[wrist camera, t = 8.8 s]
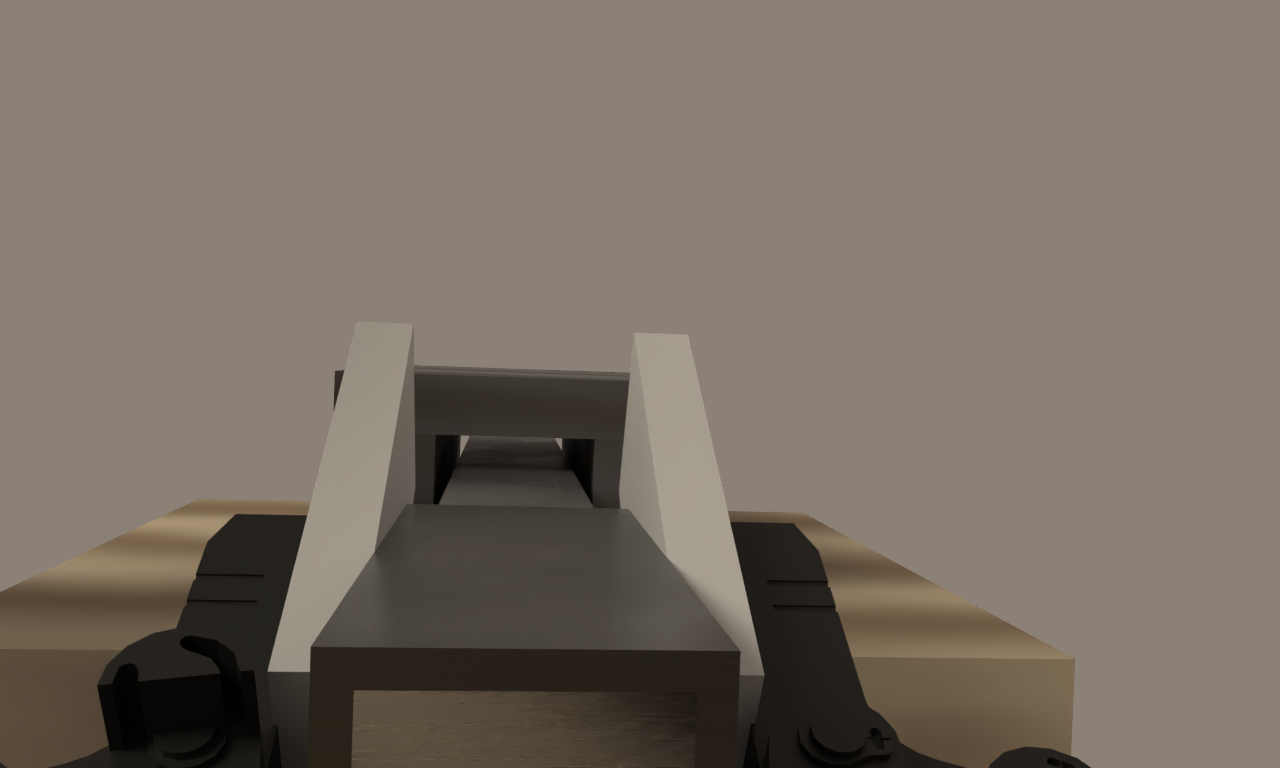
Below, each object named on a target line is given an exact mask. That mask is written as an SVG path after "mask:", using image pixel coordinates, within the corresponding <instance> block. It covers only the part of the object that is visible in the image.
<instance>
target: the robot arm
mask: <svg viewBox="0 0 1280 768" xmlns="http://www.w3.org/2000/svg"><path fill="white" fill-rule="evenodd" d="M414 493H415V406H414V326H413V324H399V323H374V322H357V324H356V328H355V331H354V335H353V339H352V343H351V347H350V351H349V355H348V359H347V363H346V367H345V370H344V374H343V378H342V382H341V386H340V390H339V394H338V398H337V402H336V406H335V410H334V414H333V418H332V421H331V425H330V429H329V433H328V437H327V441H326V445H325V449H324V453H323V457H322V460H321V464H320V468H319V472H318V476H317V480H316V484H315V488H314V492H313V496H312V500H311V503H310V507H309V511H308V515H268V514H235V515H234V516H233V517H232V518H231V519H230V520H229V521H228V522H227V523H226V524H225V525H224V526H223V527H222V528H221V529H220V530H219V531H218V532H217V533H216V534H215V535H214V536H212V537H211V538H210V539H209V540H208V541H207V544H206V547H205V549H204V552H203V555H202V558H201V561H200V563H199V566H198V569H197V572H196V579H195V580H193V583H192V586H191V588H190V591H189V594H188V597H187V603H186V606H184V608H183V611H182V613H181V616H180V619H179V622H178V624H177V627H176V628H175V629H170V630H165V631H161V632H156V633H153V634H151V635H148V636H146V637H144V638H142V639H140V640H138V641H136V642H134V643H132V644H130V645H128V646H126V647H125V648H124V649H123V650H122V651H121V652H120V653H119V654H118V655H117V656H115V657H114V658H113V659H112V660H111V661H110V662H109V663H108V664H107V665H106V667H105V669H104V671H103V673H102V676H101V678H100V680H99V682H98V684H97V689H98V694H99V699H100V704H101V709H102V714H103V719H104V724H105V729H106V734H107V739H108V744H109V745H108V746H106V747H104V748H102V749H100V750H98V751H96V752H94V753H93V754H91V755H89V756H86V757H83V758H80V759H77V760H74V761H71V762H68V763H65V764H61V765H57V766H52V767H48V768H307V748H308V715H309V683H310V651H311V645H312V644H313V642H314V641H315V639H316V638H317V637H318V635H319V634H320V632H321V631H322V629H323V628H324V626H325V625H326V623H327V622H328V620H329V619H330V617H331V616H332V614H333V613H334V611H335V610H336V608H337V607H338V605H339V604H340V602H341V601H342V599H343V598H344V596H345V595H346V593H347V592H348V590H349V589H350V587H351V586H352V584H353V583H354V581H355V580H356V578H357V577H358V576H359V574H360V573H361V571H362V570H363V568H364V567H365V565H366V564H367V562H368V561H369V559H370V558H371V556H372V555H373V553H375V551H376V550H377V548H378V547H379V545H380V544H381V542H382V541H383V539H384V537H385V536H386V534H387V533H388V531H389V530H390V528H391V527H392V525H393V524H394V522H395V521H396V519H397V518H398V516H399V515H400V513H401V512H402V510H403V509H404V507H405V506H406V504H413V500H414ZM619 497H620V507H621V509H629V510H630V511H631V513H632V514H633V515H634V516H635V518H636V519H637V520H638V522H639V523H640V524H641V525H642V527H643V528H644V529H645V530H646V532H647V533H648V534H649V536H650V537H651V538H652V539H653V541H654V542H655V543H656V545H657V546H658V547H659V548H660V550H661V551H662V552H663V553H664V555H665V556H666V557H667V558H668V559H669V561H670V562H671V563H672V564H673V566H674V567H675V568H676V569H677V571H678V572H679V573H680V575H681V576H682V577H683V578H684V580H685V581H686V582H687V583H688V585H689V586H690V587H691V589H692V590H693V591H694V592H695V594H696V595H697V596H698V597H699V599H700V600H701V601H702V603H703V604H704V605H705V606H706V608H707V609H708V610H709V611H710V613H711V614H712V615H713V617H714V618H715V619H716V620H717V622H718V623H719V624H720V625H721V627H722V628H723V629H724V631H725V632H726V633H727V634H728V636H729V637H730V638H731V639H732V641H733V642H734V643H735V645H736V646H737V647H738V648H739V650H740V651H741V653H740V679H739V705H738V732H737V758H736V768H966V767H963V766H959V765H955V764H951V763H948V762H944V761H940V760H937V759H934V758H931V757H929V756H926V755H923V754H920V753H918V752H916V751H914V750H913V749H911V748H909V747H907V746H906V745H904V744H902V743H900V741H899V739H898V736H897V734H896V731H895V730H894V729H893V728H892V726H891V725H890V724H889V723H888V722H887V721H886V720H885V719H884V718H883V717H882V716H881V715H880V713H878V712H876V711H875V710H873V709H871V708H870V707H869V706H868V704H867V702H866V699H865V696H864V693H863V690H862V687H861V684H860V680H859V677H858V674H857V671H856V668H855V664H854V661H853V658H852V655H851V652H850V649H849V645H848V642H847V639H846V636H845V633H844V630H843V626H842V623H841V620H840V617H839V614H838V612H836V604H835V601H834V598H833V595H832V592H831V588H830V587H828V579H827V576H826V573H825V569H824V566H823V563H822V560H821V557H820V554H819V550H818V549H817V548H816V547H815V546H814V545H813V544H812V543H811V542H810V541H809V540H808V538H807V537H806V536H805V535H804V534H803V533H802V532H801V531H800V530H799V529H798V528H797V526H796V525H795V524H794V523H763V522H730V520H729V515H728V511H727V507H726V502H725V498H724V493H723V489H722V484H721V480H720V475H719V471H718V466H717V462H716V458H715V453H714V449H713V444H712V440H711V435H710V431H709V426H708V422H707V417H706V413H705V409H704V404H703V400H702V396H701V391H700V387H699V382H698V377H697V373H696V369H695V364H694V360H693V355H692V351H691V346H690V342H689V337H688V335H681V334H679V335H678V334H656V333H634V338H633V349H632V361H631V370H630V380H629V390H628V401H627V411H626V422H625V432H624V443H623V453H622V464H621V474H620V485H619ZM0 768H7V767H6V766H4V765H3V764H2V763H1V762H0ZM989 768H1091V767H1089V766H1088V765H1086V764H1085V763H1084V762H1082V761H1080V760H1079V759H1078V758H1075V757H1072V756H1070V755H1067V754H1064V753H1061V752H1059V751H1056V750H1053V749H1049V748H1038V747H1026V746H1025V747H1021V748H1018V749H1014V750H1010V751H1006V752H1003V753H1002V754H1001V755H1000V756H999V757H998V758H997V759H996V760H995V761H993V762H992V763H991V764H990V765H989Z"/></svg>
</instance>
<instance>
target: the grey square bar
mask: <svg viewBox="0 0 1280 768" xmlns="http://www.w3.org/2000/svg"><path fill="white" fill-rule="evenodd" d="M740 653H741V651H740V650H739V648H738V647H737V646H736V645H735V643H734V642H733V641H732V639H731V638H730V637H729V636H728V634H727V633H726V632H725V631H724V629H723V628H722V627H721V625H720V624H719V623H718V622H717V620H716V619H715V618H714V617H713V615H712V614H711V613H710V611H709V610H708V609H707V608H706V606H705V605H704V604H703V603H702V601H701V600H700V599H699V597H698V596H697V595H696V594H695V592H694V591H693V590H692V589H691V587H690V586H689V585H688V583H687V582H686V581H685V580H684V578H683V577H682V576H681V575H680V573H679V572H678V571H677V569H676V568H675V567H674V566H673V564H672V563H671V562H670V561H669V559H668V558H667V557H666V556H665V555H664V553H663V552H662V551H661V550H660V548H659V547H658V546H657V545H656V543H655V542H654V541H653V539H652V538H651V537H650V536H649V534H648V533H647V532H646V530H645V529H644V528H643V527H642V525H641V524H640V523H639V522H638V520H637V519H636V518H635V516H634V515H633V514H632V513H631V511H630V510H629V509H613V508H593V506H592V504H591V502H590V500H589V499H588V497H587V495H586V493H585V492H584V490H583V488H582V486H581V484H580V483H579V481H578V479H577V477H576V476H575V474H574V472H573V470H572V468H571V467H570V465H569V463H568V461H567V460H566V458H565V456H564V454H563V452H562V451H561V449H560V447H559V445H558V444H557V442H556V440H555V438H537V437H502V436H470V437H469V439H468V441H467V444H466V446H465V448H464V450H463V452H462V454H461V457H460V459H459V461H458V463H457V465H456V468H455V470H454V472H453V474H452V476H451V479H450V481H449V483H448V485H447V487H446V489H445V492H444V494H443V496H442V498H441V500H440V503H439V505H438V504H406V506H405V507H404V509H403V510H402V512H401V513H400V515H399V516H398V518H397V519H396V521H395V522H394V524H393V525H392V527H391V528H390V530H389V531H388V533H387V534H386V536H385V537H384V539H383V541H382V542H381V544H380V545H379V547H378V548H377V550H376V551H375V553H373V555H372V556H371V558H370V559H369V561H368V562H367V564H366V565H365V567H364V568H363V570H362V571H361V573H360V574H359V576H358V577H357V578H356V580H355V581H354V583H353V584H352V586H351V587H350V589H349V590H348V592H347V593H346V595H345V596H344V598H343V599H342V601H341V602H340V604H339V605H338V607H337V608H336V610H335V611H334V613H333V614H332V616H331V617H330V619H329V620H328V622H327V623H326V625H325V626H324V628H323V629H322V631H321V632H320V634H319V635H318V637H317V638H316V639H315V641H314V642H313V644H312V645H311V651H310V683H309V715H308V748H307V768H736V758H737V732H738V705H739V679H740Z"/></svg>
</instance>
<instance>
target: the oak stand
mask: <svg viewBox="0 0 1280 768" xmlns="http://www.w3.org/2000/svg"><path fill="white" fill-rule="evenodd" d="M343 374H344V370H342V371H341V370H340V371H335V388H334V410H335V406H336V402H337V398H338V394H339V390H340V386H341V382H342V378H343ZM629 380H630V373H616V372H588V371H559V370H529V369H502V368H473V367H445V366H444V367H443V366H418V365H414V406H415V493H414V500H413V504H438V505H439V503H440V500H441V498H442V496H443V494H444V492H445V489H446V487H447V485H448V483H449V481H450V479H451V476H452V474H453V472H454V470H455V468H456V465H457V463H458V461H459V459H460V437H461V435H468V436H502V437H537V438H562V452H563V454H564V456H565V458H566V460H567V461H568V463H569V465H570V467H571V468H572V470H573V472H574V474H575V476H576V477H577V479H578V481H579V483H580V484H581V486H582V488H583V490H584V492H585V493H586V495H587V497H588V499H589V500H590V502H591V504H592V506H593V508H613V509H621V507H620V497H619V485H620V474H621V464H622V453H623V443H624V432H625V422H626V411H627V401H628V390H629ZM310 503H311V502H302V501H259V500H258V501H257V500H215V499H198V500H196V501H194V502H191V503H189V504H187V505H185V506H183V507H181V508H179V509H177V510H174V511H172V512H171V513H168V514H166V515H164V516H162V517H160V518H157V519H155V520H153V521H151V522H149V523H147V524H145V525H142V526H140V527H138V528H136V529H134V530H132V531H130V532H128V533H125V534H123V535H121V536H119V537H117V538H115V539H113V540H111V541H108V542H106V543H104V544H102V545H100V546H98V547H96V548H94V549H91V550H89V551H87V552H85V553H83V554H81V555H79V556H77V557H74V558H72V559H70V560H68V561H66V562H64V563H62V564H59V565H57V566H55V567H53V568H51V569H49V570H47V571H45V572H42V573H40V574H38V575H36V576H34V577H32V578H30V579H28V580H25V581H23V582H21V583H19V584H17V585H15V586H13V587H11V588H8V589H6V590H4V591H2V592H0V762H1V763H2V764H3V765H4V766H6V767H7V768H48V767H52V766H57V765H61V764H65V763H68V762H71V761H74V760H77V759H80V758H83V757H86V756H89V755H91V754H93V753H94V752H96V751H98V750H100V749H102V748H104V747H106V746H108V745H109V744H108V739H107V734H106V729H105V724H104V719H103V714H102V709H101V704H100V699H99V694H98V689H97V684H98V682H99V680H100V678H101V676H102V673H103V671H104V669H105V667H106V665H107V664H108V663H109V662H110V661H111V660H112V659H113V658H114V657H115V656H117V655H118V654H119V653H120V652H121V651H122V650H123V649H124V648H125V647H126V646H128V645H130V644H132V643H134V642H136V641H138V640H140V639H142V638H144V637H146V636H148V635H151V634H153V633H156V632H161V631H165V630H170V629H175V628H176V627H177V624H178V622H179V619H180V616H181V613H182V611H183V608H184V606H186V603H187V597H188V594H189V591H190V588H191V586H192V583H193V580H195V579H196V572H197V569H198V566H199V563H200V561H201V558H202V555H203V552H204V549H205V547H206V544H207V541H208V540H209V539H210V538H211V537H212V536H214V535H215V534H216V533H217V532H218V531H219V530H220V529H221V528H222V527H223V526H224V525H225V524H226V523H227V522H228V521H229V520H230V519H231V518H232V517H233V516H234V515H235V514H268V515H308V511H309V507H310ZM728 515H729V520H730V522H763V523H794V524H795V525H796V526H797V528H798V529H799V530H800V531H801V532H802V533H803V534H804V535H805V536H806V537H807V538H808V540H809V541H810V542H811V543H812V544H813V545H814V546H815V547H816V548H817V549H818V550H819V554H820V557H821V560H822V563H823V566H824V569H825V573H826V576H827V579H828V587H830V588H831V592H832V595H833V598H834V601H835V604H836V612H838V614H839V617H840V620H841V623H842V626H843V630H844V633H845V636H846V639H847V642H848V645H849V649H850V652H851V655H852V658H853V661H854V664H855V668H856V671H857V674H858V677H859V680H860V684H861V687H862V690H863V693H864V696H865V699H866V702H867V704H868V706H869V707H870V708H871V709H873V710H875V711H876V712H878V713H880V715H881V716H882V717H883V718H884V719H885V720H886V721H887V722H888V723H889V724H890V725H891V726H892V728H893V729H894V730H895V731H896V734H897V736H898V739H899V741H900V743H902V744H904V745H906V746H907V747H909V748H911V749H913V750H914V751H916V752H918V753H920V754H923V755H926V756H929V757H931V758H934V759H937V760H940V761H944V762H948V763H951V764H955V765H959V766H963V767H966V768H989V765H990V764H991V763H992V762H993V761H995V760H996V759H997V758H998V757H999V756H1000V755H1001V754H1002V753H1003V752H1006V751H1010V750H1014V749H1018V748H1021V747H1025V746H1026V747H1038V748H1049V749H1053V750H1056V751H1059V752H1061V753H1064V754H1067V755H1070V756H1071V740H1072V717H1073V694H1074V693H1073V692H1074V671H1075V659H1074V658H1072V657H1070V656H1068V655H1066V654H1064V653H1063V652H1061V651H1059V650H1057V649H1055V648H1053V647H1051V646H1050V645H1048V644H1046V643H1044V642H1042V641H1040V640H1038V639H1037V638H1035V637H1033V636H1031V635H1029V634H1027V633H1025V632H1024V631H1022V630H1020V629H1018V628H1016V627H1014V626H1012V625H1011V624H1008V623H1007V622H1005V621H1003V620H1001V619H999V618H997V617H995V616H994V615H992V614H990V613H988V612H986V611H984V610H983V609H981V608H979V607H977V606H975V605H973V604H971V603H970V602H968V601H966V600H964V599H962V598H960V597H958V596H957V595H955V594H953V593H951V592H949V591H947V590H945V589H943V588H942V587H940V586H938V585H936V584H934V583H932V582H930V581H929V580H926V579H925V578H923V577H921V576H919V575H917V574H915V573H914V572H912V571H910V570H908V569H906V568H904V567H902V566H901V565H899V564H897V563H895V562H893V561H891V560H889V559H888V558H886V557H884V556H882V555H880V554H878V553H876V552H875V551H873V550H871V549H869V548H867V547H865V546H863V545H862V544H860V543H858V542H856V541H854V540H852V539H850V538H849V537H847V536H845V535H843V534H841V533H839V532H837V531H835V530H834V529H832V528H829V527H828V526H826V525H824V524H822V523H821V522H819V521H817V520H815V519H813V518H811V517H809V516H808V515H805V514H804V513H783V512H740V511H728Z"/></svg>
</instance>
